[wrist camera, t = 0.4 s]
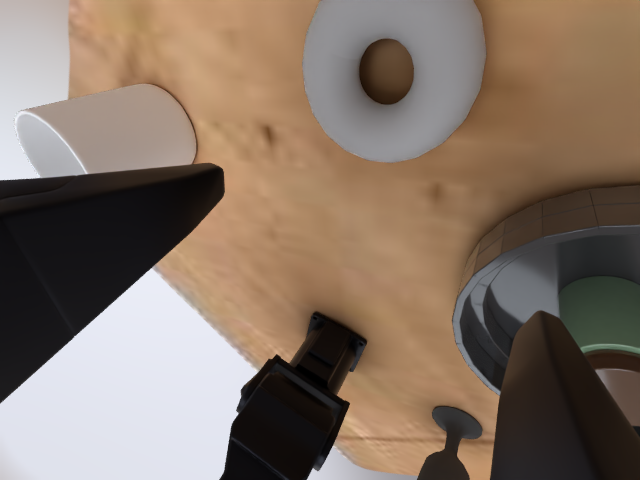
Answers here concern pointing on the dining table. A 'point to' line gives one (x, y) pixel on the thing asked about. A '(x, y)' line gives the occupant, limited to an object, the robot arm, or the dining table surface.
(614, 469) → the robot arm
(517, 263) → the black frying pan
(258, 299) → the dining table surface
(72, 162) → the cup
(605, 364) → the spice jar
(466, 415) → the sundae
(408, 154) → the donut
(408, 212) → the dining table surface
